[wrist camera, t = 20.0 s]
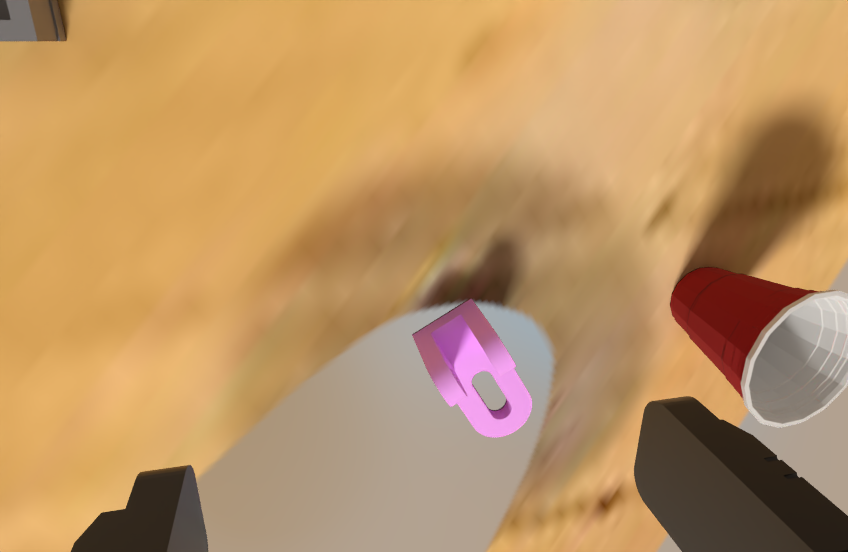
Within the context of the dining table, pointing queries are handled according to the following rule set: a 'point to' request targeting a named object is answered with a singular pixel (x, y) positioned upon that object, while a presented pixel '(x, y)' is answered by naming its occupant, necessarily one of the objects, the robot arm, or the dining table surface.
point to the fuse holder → (30, 21)
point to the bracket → (473, 368)
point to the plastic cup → (768, 340)
